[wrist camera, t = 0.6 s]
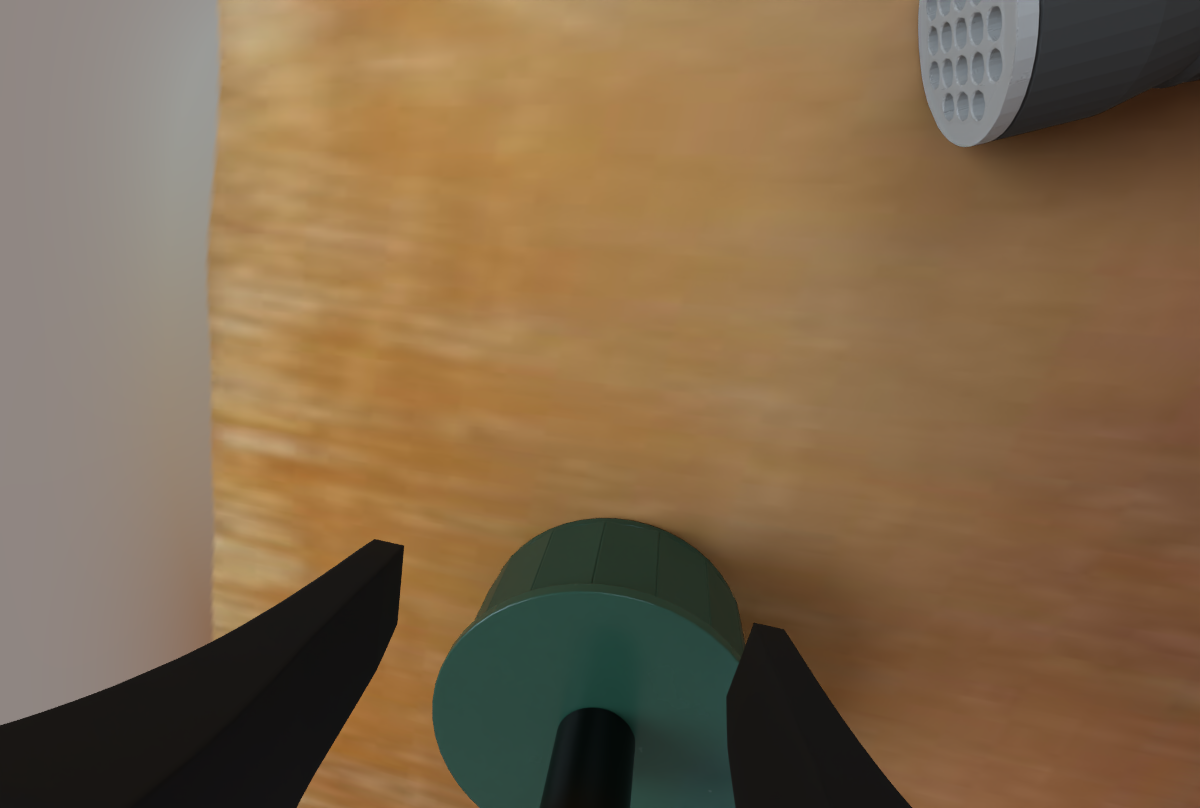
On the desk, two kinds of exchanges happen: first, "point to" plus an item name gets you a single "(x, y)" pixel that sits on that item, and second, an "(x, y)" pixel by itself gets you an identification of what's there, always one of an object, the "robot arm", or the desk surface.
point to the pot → (622, 569)
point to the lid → (587, 703)
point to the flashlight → (1048, 60)
